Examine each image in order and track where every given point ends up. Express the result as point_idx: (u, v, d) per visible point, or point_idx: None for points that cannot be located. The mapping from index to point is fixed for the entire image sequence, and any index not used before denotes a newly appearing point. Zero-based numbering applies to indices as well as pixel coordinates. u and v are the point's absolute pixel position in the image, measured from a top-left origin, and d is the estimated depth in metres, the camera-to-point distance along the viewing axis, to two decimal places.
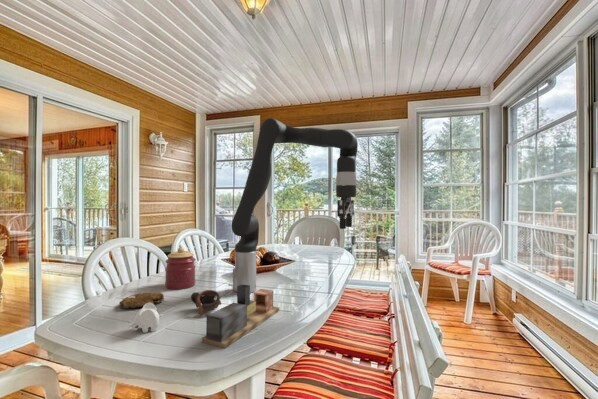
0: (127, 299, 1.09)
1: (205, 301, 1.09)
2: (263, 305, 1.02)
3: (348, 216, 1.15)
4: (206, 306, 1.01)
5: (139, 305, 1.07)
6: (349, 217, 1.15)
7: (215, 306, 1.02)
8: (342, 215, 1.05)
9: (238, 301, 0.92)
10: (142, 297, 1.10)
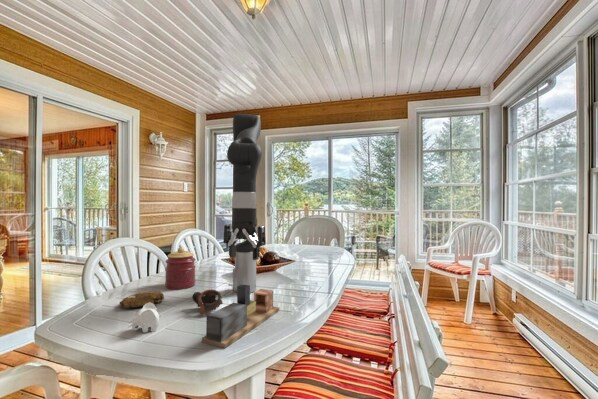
0: (127, 299, 1.09)
1: (206, 301, 1.10)
2: (263, 305, 1.02)
3: (233, 244, 0.95)
4: (208, 305, 1.01)
5: (140, 305, 1.07)
6: (234, 245, 0.95)
7: (216, 305, 1.03)
8: (264, 243, 0.91)
9: (238, 301, 0.92)
10: (142, 297, 1.11)
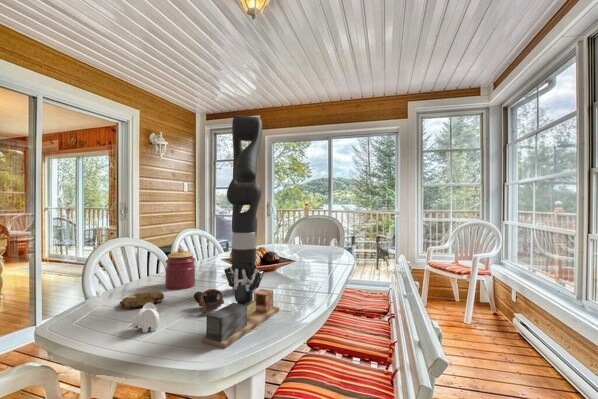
0: (128, 299, 1.09)
1: (208, 300, 1.10)
2: (263, 305, 1.02)
3: None
4: (209, 305, 1.02)
5: (140, 304, 1.08)
6: None
7: (218, 305, 1.03)
8: (257, 287, 0.92)
9: (238, 301, 0.92)
10: (143, 296, 1.11)
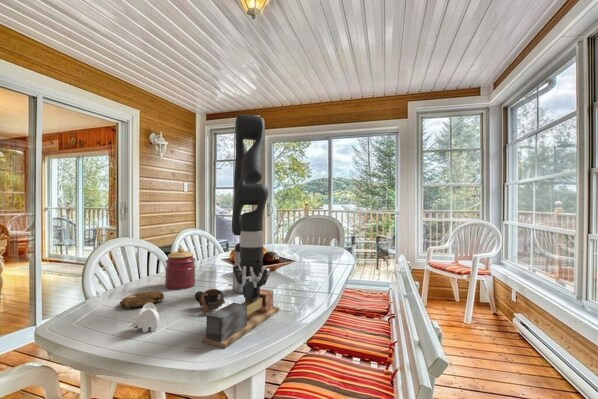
0: (128, 299, 1.09)
1: (209, 300, 1.11)
2: (263, 305, 1.02)
3: None
4: (210, 305, 1.02)
5: (141, 304, 1.08)
6: None
7: (219, 305, 1.04)
8: (264, 283, 0.96)
9: (246, 297, 0.96)
10: (143, 296, 1.11)
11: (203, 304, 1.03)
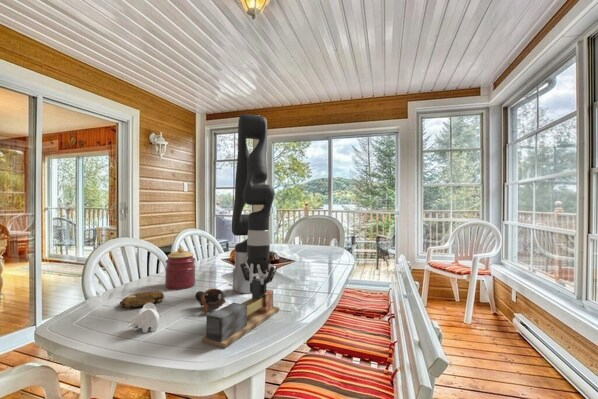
0: (128, 299, 1.10)
1: (209, 300, 1.11)
2: None
3: None
4: (211, 304, 1.02)
5: (141, 304, 1.08)
6: None
7: (220, 304, 1.04)
8: (270, 280, 0.99)
9: (253, 293, 1.00)
10: (143, 296, 1.11)
11: (204, 304, 1.03)
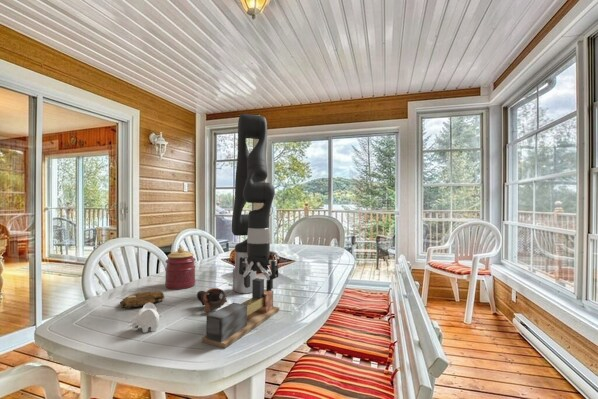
0: (128, 299, 1.10)
1: (210, 299, 1.11)
2: None
3: (248, 275, 1.02)
4: (213, 304, 1.03)
5: (142, 304, 1.08)
6: (248, 276, 1.03)
7: (221, 304, 1.05)
8: (277, 276, 0.98)
9: (253, 293, 1.00)
10: (143, 296, 1.11)
11: (205, 303, 1.04)
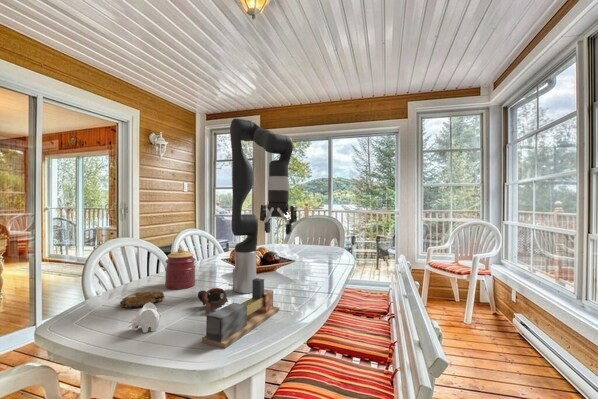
0: (128, 298, 1.10)
1: (211, 299, 1.12)
2: None
3: (268, 221, 1.11)
4: (214, 303, 1.03)
5: (142, 304, 1.08)
6: None
7: (222, 303, 1.05)
8: (295, 220, 1.06)
9: (253, 293, 1.00)
10: (144, 296, 1.12)
11: (206, 303, 1.04)
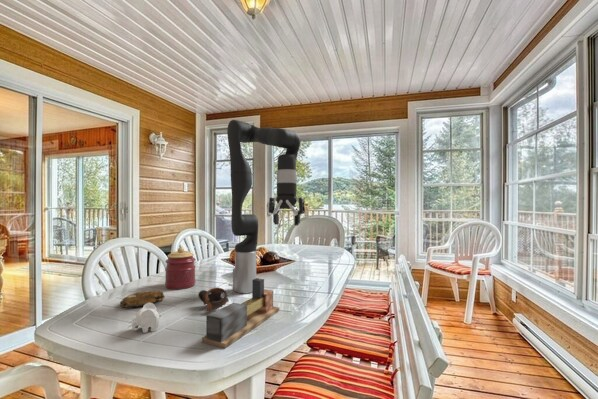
0: (129, 298, 1.10)
1: (212, 298, 1.12)
2: None
3: (276, 213, 1.15)
4: (215, 303, 1.04)
5: (142, 303, 1.09)
6: (277, 214, 1.15)
7: (223, 303, 1.05)
8: (304, 212, 1.11)
9: (253, 293, 1.00)
10: (144, 296, 1.12)
11: (207, 303, 1.04)
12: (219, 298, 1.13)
